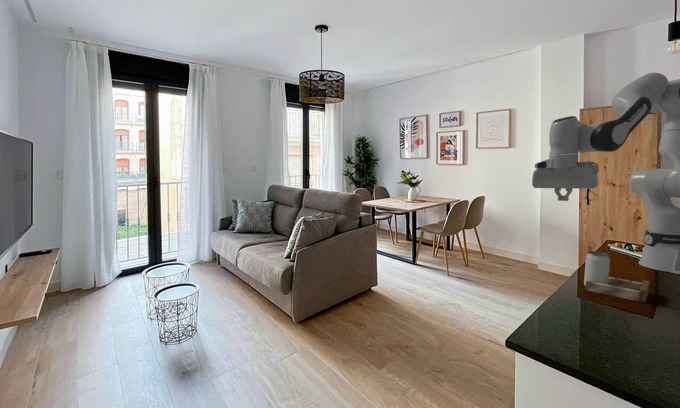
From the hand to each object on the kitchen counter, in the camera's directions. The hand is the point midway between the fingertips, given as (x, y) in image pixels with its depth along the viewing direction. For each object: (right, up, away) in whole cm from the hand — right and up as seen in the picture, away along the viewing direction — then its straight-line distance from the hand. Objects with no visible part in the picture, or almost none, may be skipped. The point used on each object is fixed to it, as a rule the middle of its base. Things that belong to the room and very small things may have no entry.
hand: (563, 200), depth 121 cm
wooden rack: (+10, -30, -11) cm, 34 cm away
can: (+6, -30, -7) cm, 32 cm away
